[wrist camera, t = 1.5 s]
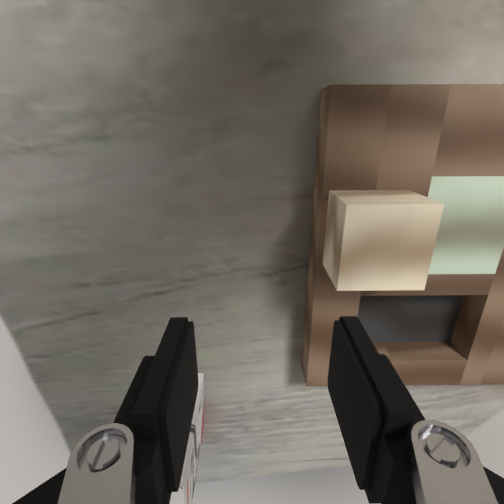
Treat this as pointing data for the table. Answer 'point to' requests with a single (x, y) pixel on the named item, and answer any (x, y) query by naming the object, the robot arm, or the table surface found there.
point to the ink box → (191, 451)
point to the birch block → (380, 239)
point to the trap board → (448, 237)
